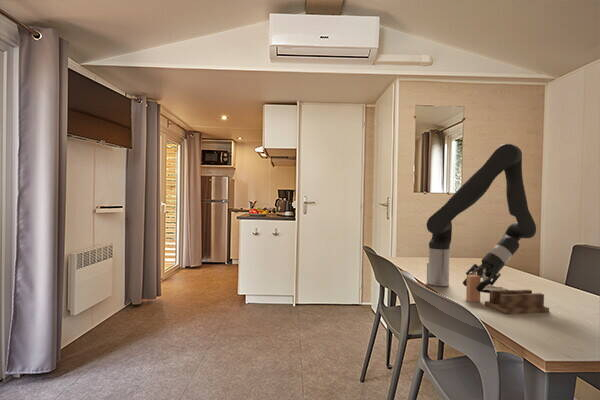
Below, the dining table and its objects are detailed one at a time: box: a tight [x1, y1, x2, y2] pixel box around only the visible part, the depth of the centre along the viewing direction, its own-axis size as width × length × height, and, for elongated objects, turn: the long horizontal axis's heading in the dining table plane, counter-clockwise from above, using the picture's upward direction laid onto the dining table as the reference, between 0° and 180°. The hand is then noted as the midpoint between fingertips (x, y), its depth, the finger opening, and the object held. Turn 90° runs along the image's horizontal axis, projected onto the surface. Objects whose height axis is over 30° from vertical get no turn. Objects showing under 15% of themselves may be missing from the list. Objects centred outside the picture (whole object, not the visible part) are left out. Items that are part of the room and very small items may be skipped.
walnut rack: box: [484, 288, 550, 315], centre depth 139 cm, size 18×11×6 cm, turn 100°
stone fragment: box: [482, 285, 509, 291], centre depth 162 cm, size 25×3×10 cm
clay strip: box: [465, 274, 482, 303], centre depth 149 cm, size 4×2×10 cm, turn 100°
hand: (470, 287), depth 149 cm, fingers open, 8 cm apart
